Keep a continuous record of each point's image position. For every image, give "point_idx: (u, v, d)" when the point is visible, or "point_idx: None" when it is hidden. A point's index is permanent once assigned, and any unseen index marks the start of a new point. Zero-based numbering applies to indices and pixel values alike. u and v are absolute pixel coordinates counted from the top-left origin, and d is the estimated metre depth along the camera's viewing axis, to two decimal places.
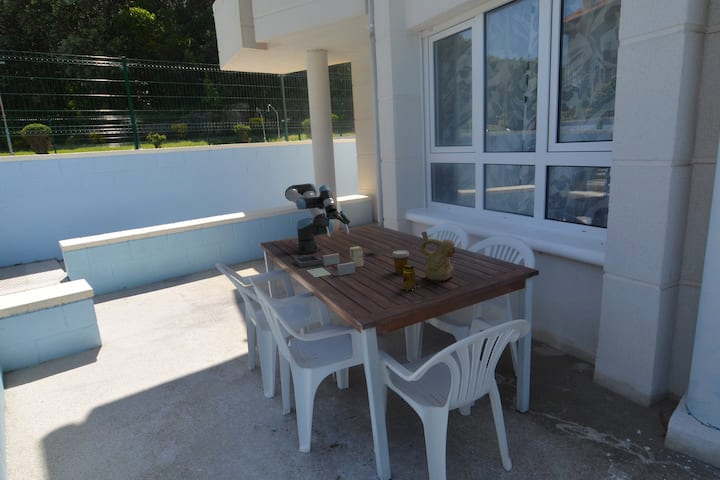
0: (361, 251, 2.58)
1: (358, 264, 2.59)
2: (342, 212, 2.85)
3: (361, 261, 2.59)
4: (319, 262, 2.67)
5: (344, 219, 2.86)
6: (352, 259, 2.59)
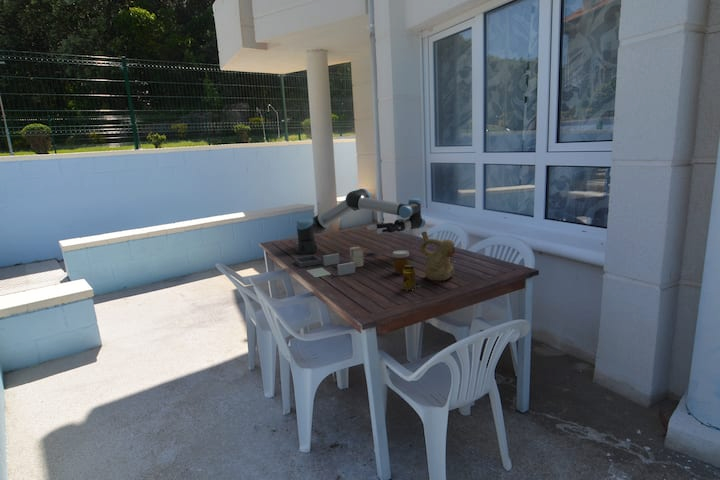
0: (361, 251, 2.58)
1: (358, 264, 2.59)
2: None
3: (361, 261, 2.59)
4: (319, 262, 2.67)
5: None
6: (352, 259, 2.59)
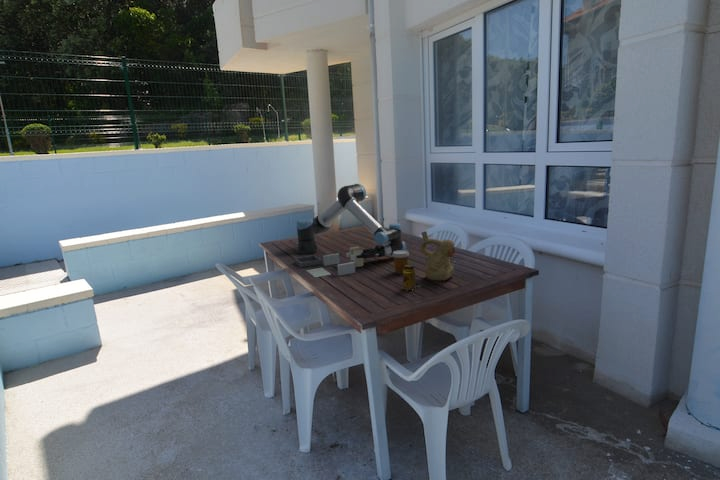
0: (361, 251, 2.58)
1: (358, 264, 2.59)
2: None
3: (361, 261, 2.59)
4: (319, 262, 2.67)
5: None
6: None
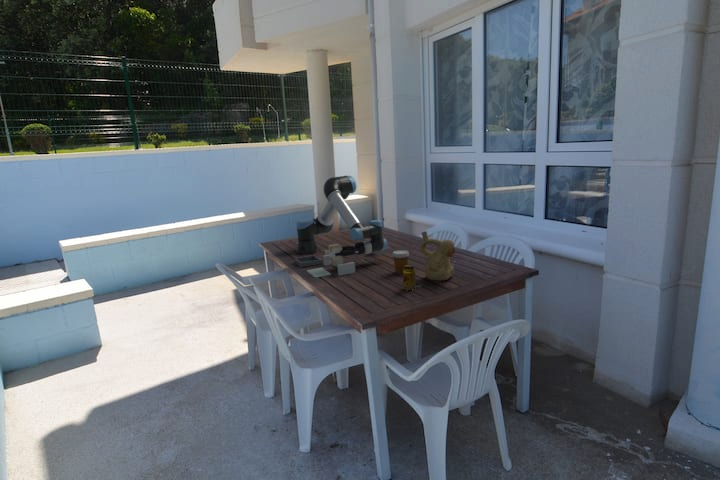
0: (340, 248, 2.50)
1: (337, 262, 2.51)
2: None
3: (340, 259, 2.51)
4: (319, 262, 2.67)
5: None
6: (331, 257, 2.51)
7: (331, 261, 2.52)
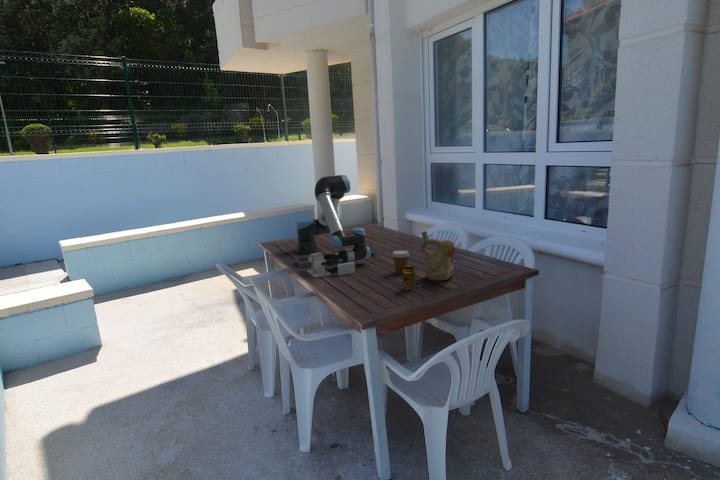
0: (322, 257, 2.48)
1: (319, 271, 2.49)
2: None
3: (322, 268, 2.49)
4: None
5: None
6: (313, 266, 2.50)
7: (313, 270, 2.51)
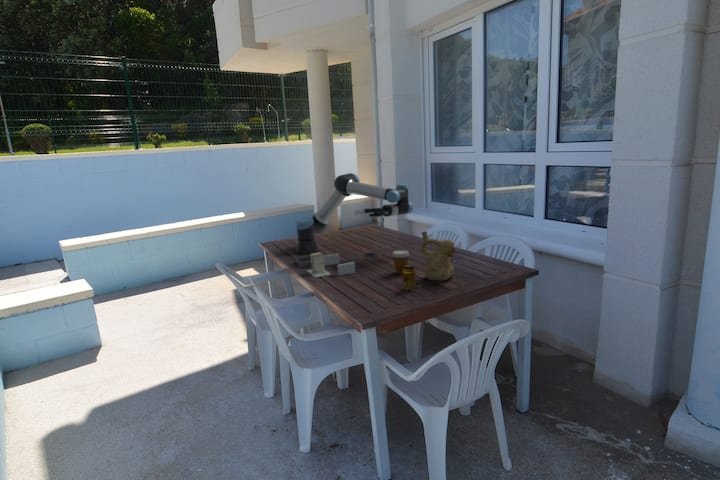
0: (322, 257, 2.48)
1: (319, 271, 2.49)
2: (376, 211, 2.77)
3: (322, 268, 2.49)
4: None
5: None
6: (313, 266, 2.50)
7: (313, 270, 2.51)
